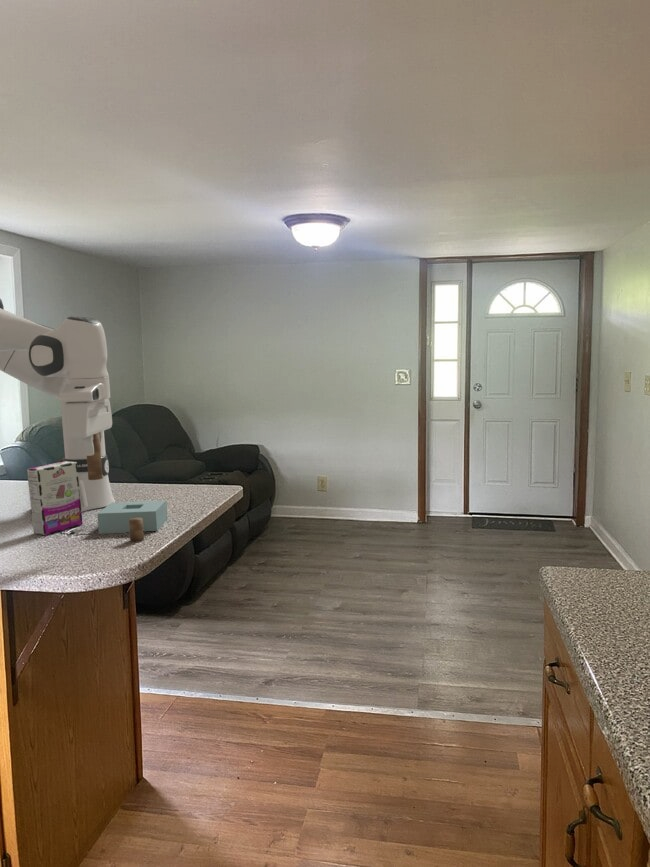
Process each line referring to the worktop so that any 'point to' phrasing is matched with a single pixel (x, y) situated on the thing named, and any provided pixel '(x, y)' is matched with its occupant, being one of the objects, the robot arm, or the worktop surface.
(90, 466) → the long dowel
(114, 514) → the hole block
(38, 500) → the candy bar box
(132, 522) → the short dowel
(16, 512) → the worktop surface
